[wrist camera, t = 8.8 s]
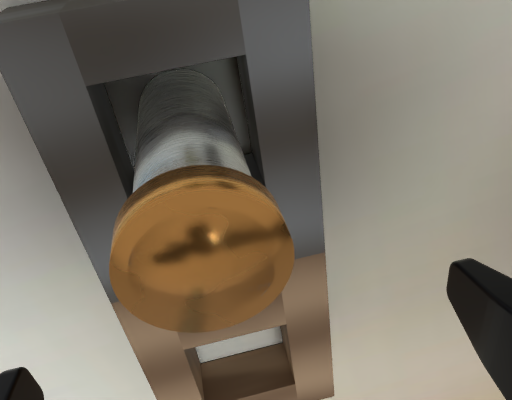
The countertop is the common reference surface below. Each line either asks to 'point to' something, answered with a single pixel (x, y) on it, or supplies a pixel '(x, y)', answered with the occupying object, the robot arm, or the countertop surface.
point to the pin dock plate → (122, 174)
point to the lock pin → (195, 216)
